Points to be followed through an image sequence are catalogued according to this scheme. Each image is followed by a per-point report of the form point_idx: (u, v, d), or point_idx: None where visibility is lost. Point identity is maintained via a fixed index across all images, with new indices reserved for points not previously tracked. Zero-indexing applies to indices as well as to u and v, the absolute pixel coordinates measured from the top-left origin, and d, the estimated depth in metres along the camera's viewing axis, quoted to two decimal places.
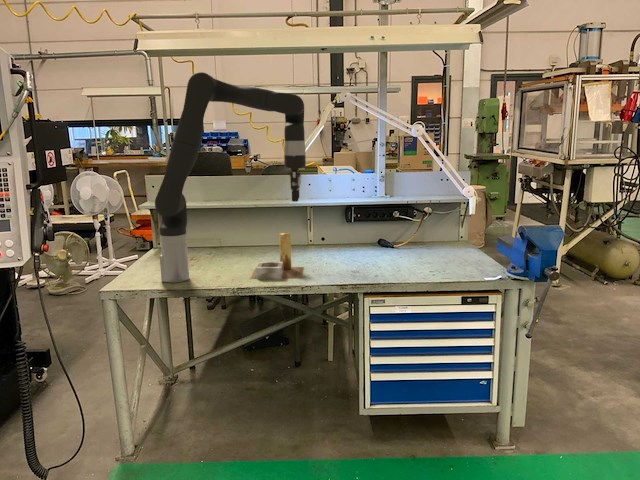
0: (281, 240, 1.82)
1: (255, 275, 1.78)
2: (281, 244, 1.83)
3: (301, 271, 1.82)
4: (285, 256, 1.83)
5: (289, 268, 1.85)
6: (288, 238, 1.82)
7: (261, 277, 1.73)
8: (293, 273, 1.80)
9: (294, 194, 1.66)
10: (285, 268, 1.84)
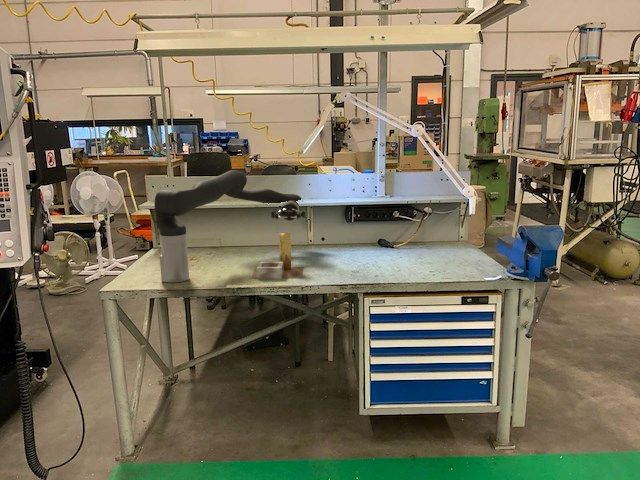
0: (281, 240, 1.82)
1: (255, 275, 1.78)
2: (281, 244, 1.83)
3: (301, 271, 1.82)
4: (285, 256, 1.83)
5: (289, 268, 1.85)
6: (288, 238, 1.82)
7: (261, 277, 1.73)
8: (293, 273, 1.80)
9: None
10: (285, 268, 1.84)
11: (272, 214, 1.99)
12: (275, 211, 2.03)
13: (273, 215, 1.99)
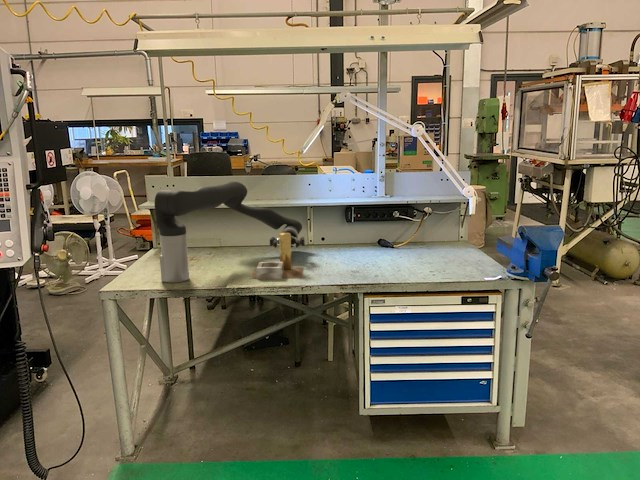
0: (281, 240, 1.82)
1: (255, 275, 1.78)
2: (281, 244, 1.83)
3: (301, 271, 1.82)
4: (285, 256, 1.83)
5: (289, 268, 1.85)
6: (288, 238, 1.82)
7: (261, 277, 1.73)
8: (293, 273, 1.80)
9: (299, 243, 1.92)
10: (285, 268, 1.84)
11: (270, 242, 1.95)
12: (274, 239, 1.98)
13: (271, 243, 1.94)
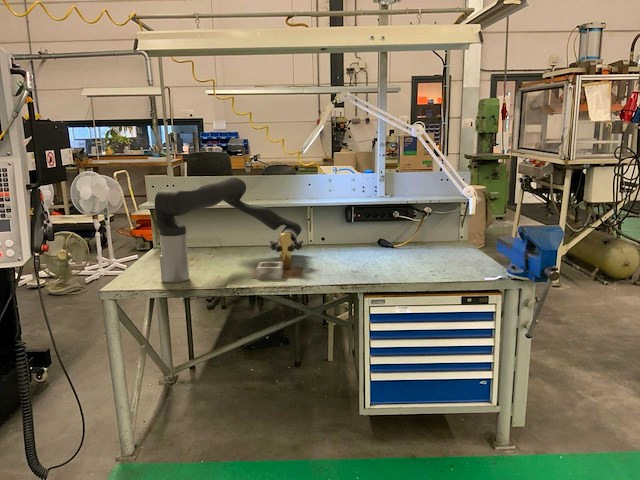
0: (281, 240, 1.82)
1: (255, 275, 1.78)
2: (281, 244, 1.83)
3: (301, 271, 1.82)
4: (285, 256, 1.83)
5: (289, 268, 1.85)
6: (288, 238, 1.82)
7: (261, 277, 1.73)
8: (293, 273, 1.80)
9: (294, 247, 1.84)
10: (285, 268, 1.84)
11: (273, 246, 1.86)
12: (273, 242, 1.90)
13: (274, 247, 1.86)
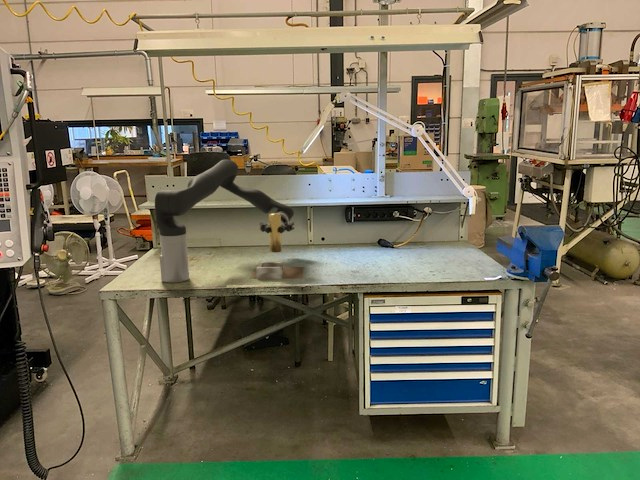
0: (271, 221, 1.75)
1: (255, 275, 1.78)
2: (271, 225, 1.75)
3: (301, 271, 1.82)
4: (274, 237, 1.76)
5: (279, 250, 1.78)
6: (278, 219, 1.75)
7: (261, 277, 1.73)
8: (293, 273, 1.80)
9: (284, 228, 1.77)
10: (275, 250, 1.77)
11: (263, 227, 1.79)
12: (263, 224, 1.83)
13: (263, 229, 1.79)
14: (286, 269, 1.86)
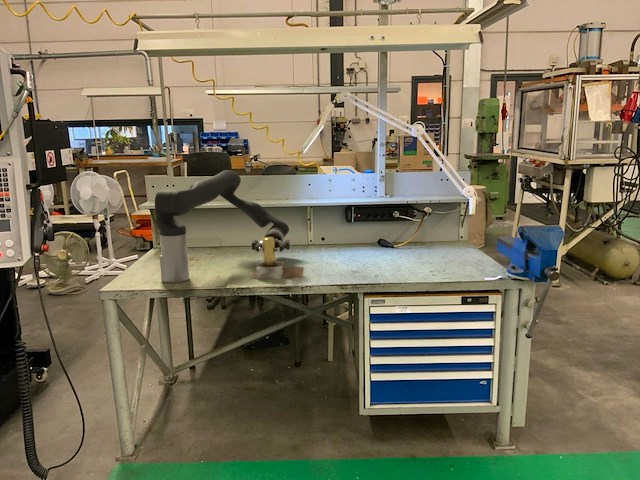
0: (264, 246, 1.73)
1: (255, 275, 1.78)
2: (264, 250, 1.73)
3: (301, 271, 1.82)
4: (268, 262, 1.74)
5: None
6: (271, 244, 1.73)
7: (261, 277, 1.73)
8: (293, 273, 1.80)
9: None
10: None
11: (253, 246, 1.78)
12: (256, 242, 1.82)
13: (254, 247, 1.78)
14: (286, 269, 1.86)
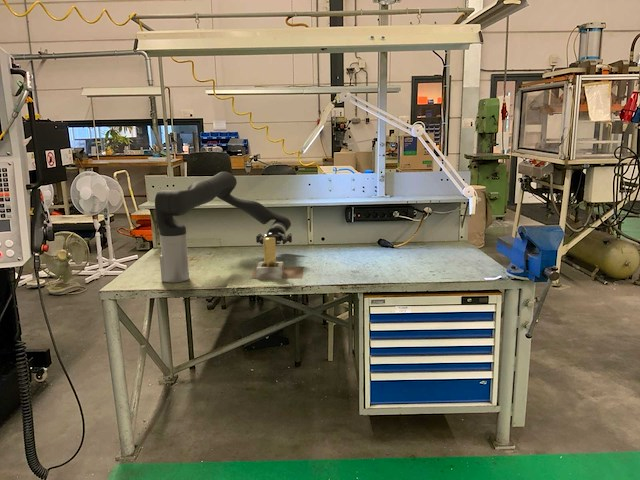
0: (265, 245, 1.74)
1: (255, 275, 1.78)
2: (265, 249, 1.74)
3: (301, 271, 1.82)
4: (269, 262, 1.74)
5: None
6: (272, 243, 1.74)
7: (261, 277, 1.73)
8: (293, 273, 1.80)
9: (286, 240, 1.89)
10: None
11: (257, 239, 1.91)
12: (260, 235, 1.95)
13: (258, 240, 1.91)
14: (286, 269, 1.86)
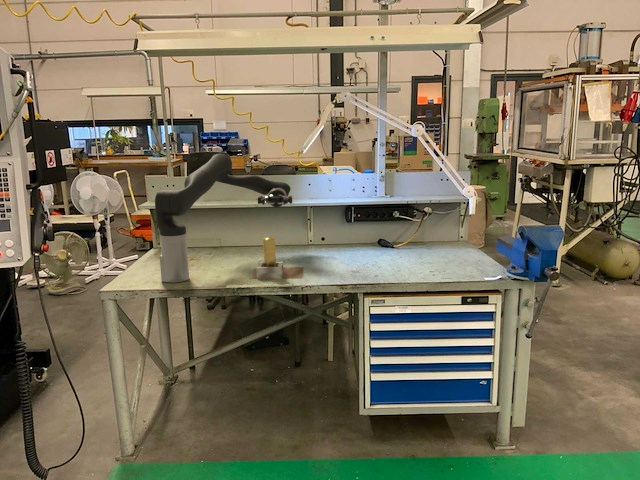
0: (265, 245, 1.73)
1: (255, 275, 1.78)
2: (265, 249, 1.74)
3: (301, 271, 1.82)
4: (269, 262, 1.74)
5: None
6: (272, 243, 1.73)
7: (261, 277, 1.73)
8: (293, 273, 1.80)
9: (287, 200, 1.94)
10: None
11: (258, 200, 1.96)
12: (262, 197, 2.00)
13: (259, 201, 1.96)
14: (286, 269, 1.86)
